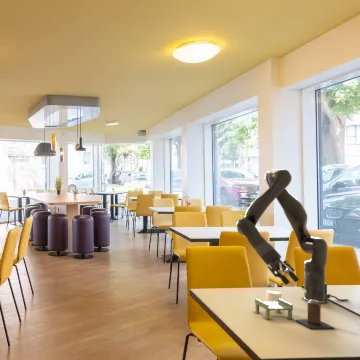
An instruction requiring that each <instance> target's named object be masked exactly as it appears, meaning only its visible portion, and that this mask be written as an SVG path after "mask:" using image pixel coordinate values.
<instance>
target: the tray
mask: <svg viewBox="0 0 360 360" xmlns="http://www.w3.org/2000/svg"><path fill="white" fill-rule="evenodd" d="M254 305H255V313H256V314H260V308H262V309H264V310H265V319H266V320H271V311H276V313H278V314H281V312H282V311H287V319H288V320H293V310H294V304H292V303H290V302H288V301H286V300H284V299H283V298H281V299H280V298H278V302H267V301H262V300H260V299H258V298H254Z"/></svg>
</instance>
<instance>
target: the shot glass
mask: <svg viewBox="0 0 360 360" xmlns="http://www.w3.org/2000/svg"><path fill="white" fill-rule="evenodd" d="M265 292H266V293H265V294H266V302H278V298H280V299H282V296H283V295H282V294H283V292H281V291H279V290H271V289H270V290H265Z"/></svg>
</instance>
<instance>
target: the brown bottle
mask: <svg viewBox="0 0 360 360" xmlns="http://www.w3.org/2000/svg"><path fill="white" fill-rule="evenodd" d="M321 305H322V303H319V302H318V300H313V299H311V300H310V301H307V315H306V316H307V322H308V323H309V324H311V325H321V321H322V320H321V319H322V318H321V317H322V315H321V313H322V311H321V310H322V309H321V308H322V307H321Z"/></svg>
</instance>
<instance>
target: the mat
mask: <svg viewBox="0 0 360 360" xmlns="http://www.w3.org/2000/svg"><path fill="white" fill-rule="evenodd" d="M295 322H297V323H299V324H301V325H303V326H305V327H306V328H308V329H310V330H335V327H334V326H332V325H330V324H328V323H325V322H324V321H322V320H321V325H311V324H309V323H308V322H307V319H295Z"/></svg>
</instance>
